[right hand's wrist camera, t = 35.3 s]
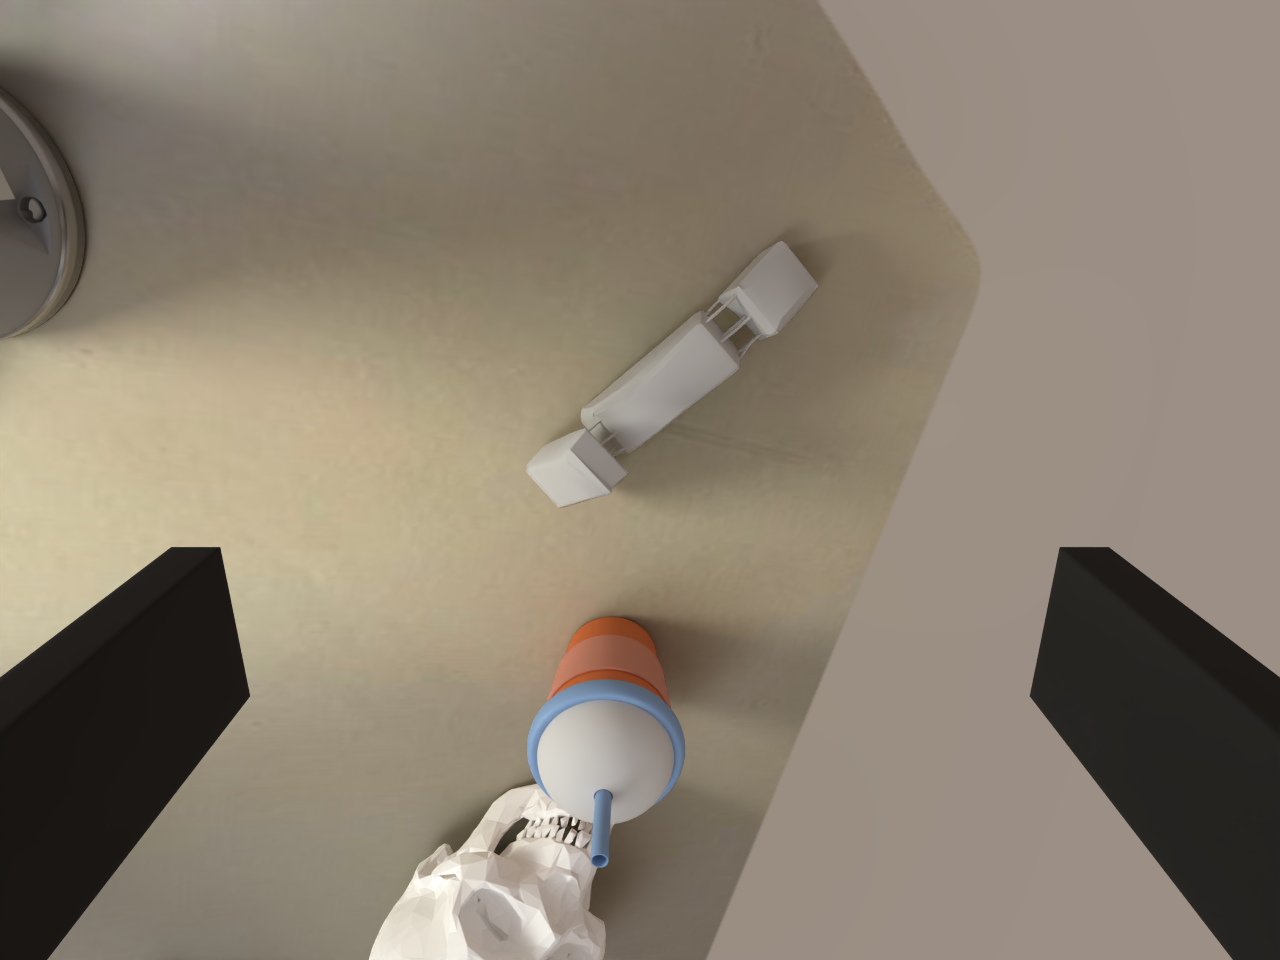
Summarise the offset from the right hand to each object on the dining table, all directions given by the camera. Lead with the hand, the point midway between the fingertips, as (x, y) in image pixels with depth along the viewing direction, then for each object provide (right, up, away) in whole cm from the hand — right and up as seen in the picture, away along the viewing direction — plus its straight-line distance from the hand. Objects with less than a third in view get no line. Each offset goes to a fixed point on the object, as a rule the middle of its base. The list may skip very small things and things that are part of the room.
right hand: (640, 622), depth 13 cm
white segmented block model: (+2, +9, +36) cm, 37 cm away
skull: (-10, -27, +49) cm, 56 cm away
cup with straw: (-2, -10, +43) cm, 44 cm away
